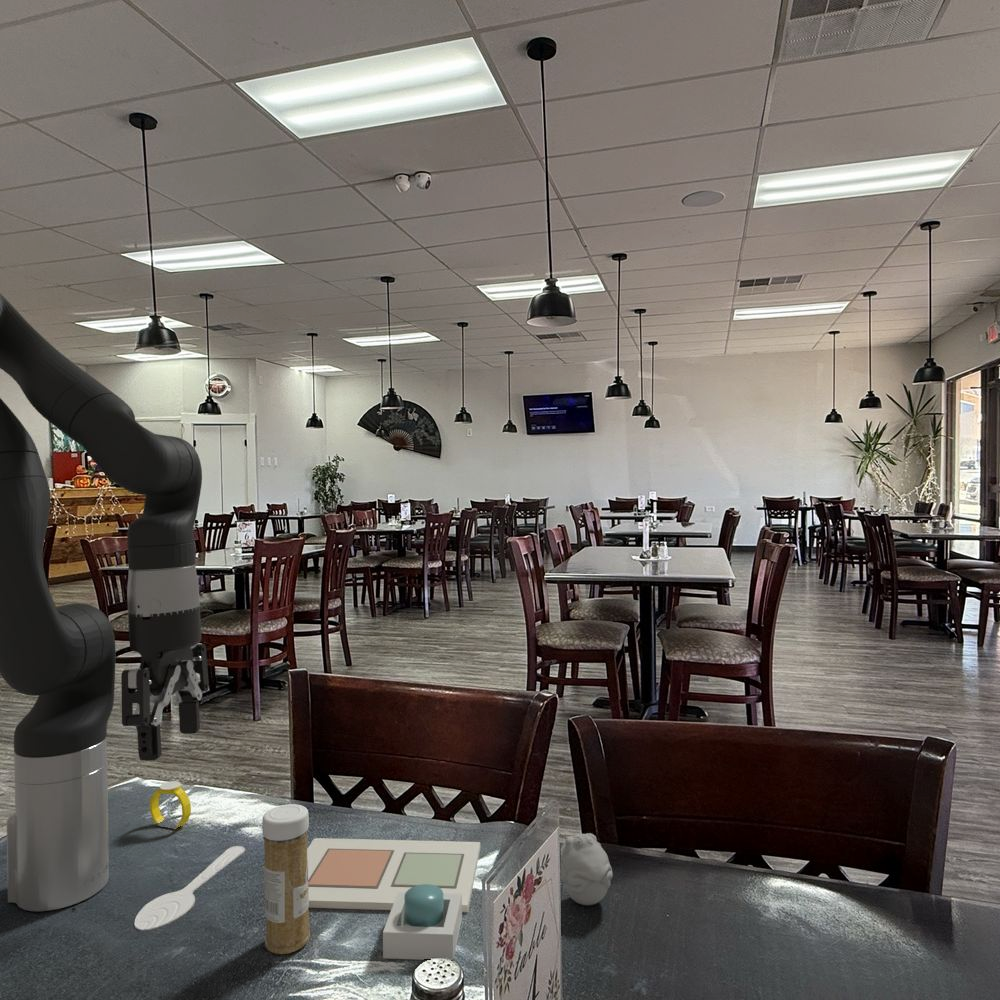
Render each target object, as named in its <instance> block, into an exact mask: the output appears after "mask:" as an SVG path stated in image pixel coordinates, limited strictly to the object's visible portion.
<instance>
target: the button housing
mask: <svg viewBox="0 0 1000 1000" xmlns="http://www.w3.org/2000/svg"><path fill="white" fill-rule="evenodd" d="M405 893H406V892H398V894H397V896H396V899H395V902H394V904H393V907H392V910H390V912H389V915H388V917H387V921H386V923H385V924H384V925H385V926H384V929H383V931H382V958H383V959H390V960H392V959H393V960H394V959H395V960H416V961H418V960H423V961H425V960H424V959H428V958H432V957H444V958H450V959H455V955H456V949H457V945H458V941H459V940H458V939H459V936H460V935H459V934H460V930H461V925H462V921H463V912H462V894H444V893H443V919H442V920H441V921H440V922H439V923H438V924H436V925H434V926H431V927H419V926H410V925H409V924H407V923H406V921H405V899H404V896H405Z"/></svg>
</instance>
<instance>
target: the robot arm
mask: <svg viewBox="0 0 1000 1000" xmlns="http://www.w3.org/2000/svg"><path fill="white" fill-rule="evenodd" d="M0 369H1V370H2V371H4V372H5V373H6V374H7V375H8V376H10V378H12V379H13V380H14V381H15V383H16V384H17V385H18V386H19V387H20V388H19V389H21V391H22V393H23V394H24V396H25V397H26V399H27V401H29V402H28V403H30V404H31V405H32V407H33V408H34V409H35V410H36V411H37V412H38V413H39V414H40V415H41V416H42V417H43V418H44V419H45V420H47V421H48V422H49V423H50V424H51V425H53V426H54V427H55V428H56V429H57V430H58V431H61V432H62V433H63V434H64V435H66V436H67V437H68V438H69V439H71V440H73V441H74V442H76V443H77V444H78V445H80V446H81V447H82V448H83V449H84V450H85V452H86V453H87V454H88V456H89V457H90V458H91V460H93V462H94V463H95V464H96V466H98V468H99V469H100V470H101V471H102V472H103V473H104V474H105V475H106V476H107V477H108V479H110V480H111V481H112V482H114V483H115V484H116V485H117V486H119V487H121V488H122V489H124V490H126V491H128V492H131V493H133V494H137V495H142V496H145V498H144V505H143V512H142V514H141V516H140V517H138V518H136V519H135V520H132V522H130V524H129V526H128V527H127V533H126V534H127V535H126V539H127V540H126V542H127V543H126V544H127V558H128V559H127V560H128V561H127V562H128V577H127V578H128V579H127V586H126V587H127V590H126V592H127V593H126V597H127V615H128V617H127V618H128V619H127V620H128V637H129V648H130V650H131V651H132V652H135V653H139V655H140V657H141V658H140V664H139V667H138V668H133V669H124V670H122V672H121V674H120V675H121V677H120V678H121V679H120V680H121V683H120V684H121V724H122V726H123V727H135V728H136V730H137V732H136V733H137V747H138V748H137V750H138V751H137V753H138V758H139V760H141V761H156V760H158V759H159V758H161V756H162V737H161V736H162V733H161V724H159V723H160V721H161V718H162V714H163V710H164V708H165V707H167V706H169V704H170V701H171V697H172V696H173V695H175V696H176V697H177V699H178V701H179V702H178V719H179V721H178V723H179V732H180V733H181V734H184V735H185V734H186V735H187V734H196V733H197V732H199V731H200V729H201V722H200V721H201V720H200V719H201V718H200V702H199V701H201V700H202V697H203V692H208V690H209V688H210V684H209V670H208V657H207V646H206V644H205V643H200V642H201V640H202V625H201V605H200V604H201V603H200V602H201V601H200V584H199V578H198V574H197V573H198V572H197V568H196V550H195V549H196V547H195V536H194V527H195V522H196V518H197V516H198V515H197V514H198V508H199V503H200V498H201V492H202V491H201V490H202V484H203V483H202V482H203V469H202V464H201V459H200V457H199V454H198V453H197V450H196V448H194V446H193V445H192V444H191V443H190V442H188V441H187V440H185V439H183V438H181V437H178V436H172V435H164V434H158V433H155V432H152V431H150V430H149V429H147V428H145V427H144V426H142V425H141V424H140V423H139V422H138V421H136V416H135V413H134V411H133V409H132V407H131V406H129V405H128V403H126V402H125V401H124V400H123V399H122V398H121V397H120V396H119V395H117V394H116V393H114V392H113V391H111V390H110V389H109V388H108V387H106V386H105V385H104V384H102V383H101V382H100V381H99V380H97V379H95V378H94V377H93V376H91V375H90V374H89V373H87V372H86V371H85V370H83V369H82V368H80V367H79V366H78V365H77V364H76V363H74V362H73V361H71V360H70V359H69V358H68V357H66V356H65V355H64V354H63V353H61V352H60V351H59V350H57V349H56V348H55V347H54V346H53V345H52V344H51V343H50V342H49V341H48V340H46V338H44V336H42V334H40V333H39V332H38V331H37V330H36V329H35V328H34V327H33V326H32V325H31V324H30V323H29V322H28V321H27V320H26V318H25V317H23V315H21V314H20V312H19V311H18V310H17V309H16V308H15V306H14V305H13V304H11V302H10V301H8V299H7V298H6V297H5V296H4V295H3V294H2V293H1V292H0ZM51 500H52V499H51V490H50V485H49V482H48V478H47V475H46V472H45V468H44V466H43V463H42V459H41V455H40V454H39V450H38V448H37V446H36V444H35V441H34V440H33V437H32V436H31V434H30V433H29V432H28V430H27V429H26V427H25V426H24V424H23V423H22V422H21V421H20V419H19V418H18V417H17V415H16V414H15V413H14V412H13V411H12V409H10V407H9V406H8V405H7V404H6V402H5V401H4V400H3V399H2V397H0V675H1V677H2V678H3V680H4V682H5V683H6V684H7V685H8V686H9V687H11V689H13V690H15V691H16V692H17V693H20V694H23V695H26V696H36V697H37V699H36V700H35V703H34V704H33V706H32V708H31V709H30V710H29V712H28V713H27V714H26V715H25V716H24V717H23V718H22V719H21V720H20V721H19V723H18V724H17V725H16V728H15V729H14V732H13V760H14V761H13V762H14V766H13V767H14V768H13V770H14V814H12V815H11V816H9V817H8V818H7V820H6V855H7V856H6V865H7V866H6V867H7V869H6V870H7V877H6V878H7V879H6V880H7V903H12V904H13V903H14V904H16V905H17V906H18V907H19V908H20V909H22V910H24V911H27V912H28V911H29V912H45V911H47V912H48V911H54V910H60V909H63V908H66V907H71V906H72V905H75V904H79V903H80V902H81V903H82V901H85V900H87V899H90V898H91V897H92V896H94V895H96V894H97V893H98V892H100V891H101V890H102V889H104V887H105V886H106V885H107V884H108V882H109V877H110V869H109V866H110V861H109V805H108V804H109V802H108V801H109V799H108V798H109V797H108V792H109V791H108V790H109V789H108V788H109V787H108V785H109V784H108V742H107V739H108V737H107V732H108V731H107V728H108V721H109V719H110V716H111V714H112V712H113V708H114V705H115V689H116V688H115V687H116V686H115V685H116V662H117V661H116V658H117V657H116V656H117V655H116V652H117V651H116V640H115V638H116V637H115V633H114V630H113V627H112V624H111V622H110V620H109V618H108V617H107V616H106V615H105V613H104V612H102V610H101V609H99V608H97V607H96V606H94V605H91V604H87V603H69V604H64V605H59V606H57V605H56V603H55V601H54V599H53V597H52V593H51V590H50V588H49V587H50V586H49V584H48V581H47V577H46V573H45V568H44V562H43V561H44V559H43V556H44V555H43V554H44V552H43V550H44V545H45V544H44V543H45V538H46V533H47V529H48V524H49V519H50V514H51V513H50V511H51V503H52V502H51ZM197 674H198V675H199V677H198V675H197ZM133 704H136V707H135V710H134V713H133V706H134V705H133ZM151 707H152V711H151Z"/></svg>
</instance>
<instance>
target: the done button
mask: <svg viewBox="0 0 1000 1000" xmlns="http://www.w3.org/2000/svg"><path fill="white" fill-rule="evenodd" d="M404 899H405V921H406V923H407V924H409V925H410V926H419V927H431V926H434V925H436V924H438V923H439V922H440V921H441V920H442V919H443V891H442V890H441V888H439V887H437V886H435V885H430V884H422V885H417V886H414V887H412V888H410V889H409V890H408V891H407V892H406V893H405V896H404Z"/></svg>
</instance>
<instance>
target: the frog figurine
mask: <svg viewBox="0 0 1000 1000" xmlns="http://www.w3.org/2000/svg"><path fill="white" fill-rule="evenodd" d="M560 850H561V876H560V881H561V883H563V887H564V889H565V890H566V892H567V894H568V895H569V897H570V898H571V899H572V900H573V901H574V902H576V903H577V904H579V905H583V906H593V905H596V904H598V903H599V902H600V901H602V899H604V897H605V896H606V894H607V891H608V889H609V888H610V887H611V880H612V879H613V876H614V875H613V874H614V873H613V868H612V866H611V864H610V861H609V857H608V854H607V853H606V851H605V850H604V848H603V847H602V845H601V843H600V842H598V841H597V836H596V835H594V834H593V833H591V832H589V833H588V832H587V833H576V834H574V835H573V836H572V835H570V836H567V837H566V840H565V841H564V843H563V845H562V847H561V848H560Z"/></svg>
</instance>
